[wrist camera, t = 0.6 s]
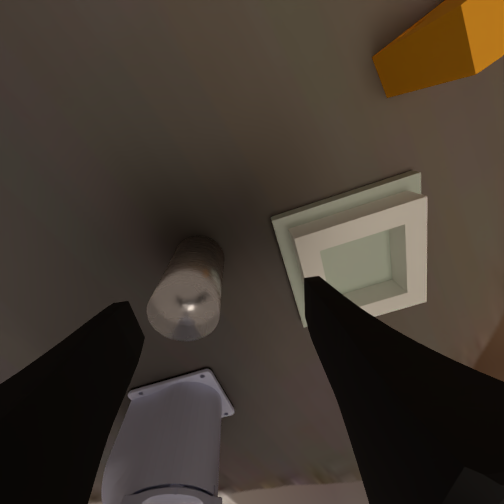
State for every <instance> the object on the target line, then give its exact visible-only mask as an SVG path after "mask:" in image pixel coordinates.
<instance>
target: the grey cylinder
mask: <svg viewBox="0 0 504 504" xmlns="http://www.w3.org/2000/svg"><path fill="white" fill-rule="evenodd" d="M223 269H224V253H223V250H222V249H221V247H220V246H219V244H218V243H216V242H215V241H214V240H212V239H210V238H208V237H204V236H192V237H189V238H187V239H185V240H183V241H182V242H181V243H180V244H179V246H178V247H177V249H176V251H175V253H174V255H173V257H172V259H171V260H170V262H169V264H168V266H167V268H166V270H165V272H164V274H163V276H162V277H161V279H160V281H159V283H158V285H157V287H156V289H155V291H154V293H153V295H152V296H151V298H150V300H149V302H148V305H147V317H148V320H149V322H150V324H151V325H152V327H153V328H154V329H155V330H156V331H157V332H159V333H160V334H162V335H163V336H165V337H167V338H170V339H173V340H178V341H193V340H198V339H201V338H203V337H205V336H207V335H208V334H210V333H211V332H212V331H213V330H214V329H215V327H216V326H217V324H218V322H219V317H220V305H221V293H222V281H223Z"/></svg>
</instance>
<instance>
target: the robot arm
mask: <svg viewBox="0 0 504 504" xmlns="http://www.w3.org/2000/svg"><path fill="white" fill-rule="evenodd" d="M304 302H305V319H306V322H307V326H308V329H309V333H310V336H311V339H312V342H313V344H314V346H315V349H316V351H317V354H318V356H319V358H320V361H321V363H322V365H323V368H324V370H325V373H326V375H327V377H328V380H329V382H330V384H331V387H332V389H333V391H334V394H335V397H336V399H337V402H338V404H339V407H340V410H341V413H342V416H343V420H344V423H345V426H346V429H347V432H348V435H349V438H350V441H351V445H352V448H353V451H354V454H355V457H356V461H357V464H358V467H359V470H360V474H361V477H362V480H363V484H364V487H365V490H366V494H367V497H368V501H369V504H504V382H503V381H500V380H498V379H495V378H493V377H491V376H488V375H486V374H484V373H481V372H479V371H477V370H474V369H472V368H470V367H468V366H465V365H463V364H461V363H459V362H456V361H454V360H452V359H450V358H448V357H446V356H444V355H442V354H440V353H438V352H436V351H434V350H432V349H430V348H428V347H426V346H424V345H422V344H420V343H418V342H416V341H414V340H412V339H411V338H409V337H407V336H405V335H403V334H402V333H400V332H398V331H396V330H395V329H393V328H391V327H389V326H388V325H386V324H384V323H383V322H381V321H380V320H378V319H377V318H375V317H374V316H372V315H371V314H369V313H368V312H366V311H365V310H363V309H362V308H360V307H359V306H357V305H356V304H355V303H353V302H352V301H351V300H349V299H348V298H346V297H345V296H344V295H343V294H341V293H340V292H339V291H337V290H336V289H335V288H334V287H332V286H331V285H330V284H329V283H327V282H326V281H325V280H324V279H322V278H321V277H320V276H314V277H307V278H304ZM144 339H145V337H144V335H143V332H142V330H141V328H140V326H139V323H138V321H137V319H136V317H135V315H134V312H133V310H132V308H131V306H130V304H129V301H126V302H118V303H113V304H111V305H110V306H108V307H107V308H105V309H104V310H103V311H101V312H100V313H98V314H97V315H96V316H94V317H93V318H92V319H90V320H89V321H88V322H86V323H85V324H84V325H83V326H81V327H80V328H79V329H77V330H76V331H75V332H73V333H72V334H71V335H69V336H68V337H67V338H65V339H64V340H63V341H61V342H60V343H59V344H57V345H56V346H55V347H53V348H52V349H50V350H49V351H48V352H46V353H45V354H44V355H42V356H41V357H39V358H38V359H37V360H35V361H34V362H32V363H31V364H30V365H28V366H27V367H25V368H24V369H22V370H21V371H20V372H18V373H17V374H15V375H14V376H12V377H11V378H9V379H8V380H6V381H4V382H3V383H1V384H0V504H88V501H89V498H90V494H91V491H92V487H93V484H94V481H95V477H96V474H97V470H98V467H99V464H100V460H101V457H102V454H103V451H104V448H105V445H106V442H107V438H108V435H109V433H110V430H111V427H112V425H113V422H114V420H115V417H116V415H117V412H118V410H119V408H120V405H121V403H122V400H123V398H124V396H125V393H126V391H127V388H128V386H129V384H130V381H131V379H132V376H133V374H134V371H135V369H136V366H137V364H138V361H139V358H140V354H141V351H142V347H143V343H144ZM128 397H129V398H130V400H131V402H130V405H129V407H128V410H127V412H126V415H125V417H124V420H123V423H122V425H121V428H120V430H119V433H118V435H117V438H116V440H115V443H114V445H113V448H112V450H111V453H110V455H109V458H108V460H107V463H106V466H105V470H104V475H103V480H102V503H103V504H222V497H218V478H219V457H220V436H221V418H222V417H226V416H230V415H233V414H234V408H233V406H232V404H231V403H230V401H229V399H228V398H227V396H226V394H225V393H224V391H223V389H222V388H221V386H220V384H219V382H218V381H217V379H216V377H215V376H214V374H213V372H212V371H211V370H210V369H204V370H200V371H197V372H193V373H190V374H186V375H183V376H179V377H176V378H172V379H169V380H165V381H162V382H158V383H155V384H151V385H148V386H144V387H141V388H137V389H134V390H131V391H129V393H128Z"/></svg>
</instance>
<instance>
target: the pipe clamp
mask: <svg viewBox="0 0 504 504" xmlns="http://www.w3.org/2000/svg"><path fill="white" fill-rule="evenodd" d="M503 55H504V0H445V1H443V2H442V3H441V4H439V5H438V6H437V7H436V8H434V9H433V10H432V11H430V12H429V13H428V14H427V15H425V16H424V17H423V18H422V19H420V20H419V21H418V22H416V23H415V24H414V25H413V26H411V27H410V28H409V29H407V30H406V31H405V32H404V33H402V34H401V35H400V36H398V37H397V38H396V39H395V40H393V41H392V42H391V43H390V44H388V45H387V46H386V47H384V48H383V49H382V50H381V51H379V52H378V53H377V54H375V55H374V56H373V57H372V59H373V62H374V64H375V67H376V70H377V72H378V75H379V78H380V80H381V83H382V86H383V88H384V91H385V94H386V96H387V98H389V97H393V96H396V95H400V94H404V93H408V92H412V91H415V90H419V89H423V88H427V87H430V86H434V85H438V84H442V83H446V82H449V81H453V80H457V79H461V78H464V77H468V76H472V75H476V74H477V73H479V72H480V71H482V70H483V69H484V68H486V67H487V66H489V65H490V64H492V63H493V62H494V61H496V60H497V59H499V58H500V57H502V56H503Z"/></svg>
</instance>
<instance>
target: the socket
mask: <svg viewBox="0 0 504 504" xmlns="http://www.w3.org/2000/svg"><path fill="white" fill-rule="evenodd" d="M270 218H271V222H272V225H273V228H274V232H275V235H276V238H277V242H278V245H279V248H280V252H281V255H282V258H283V262H284V265H285V268H286V272H287V275H288V278H289V282H290V285H291V288H292V292H293V295H294V298H295V302H296V305H297V308H298V312H299V315H300V318H301V321H302V324H303V327H307V322H306V319H305V302H304V278H307V277H314V276H320V277H321V278H322V279H324V280H325V281H326V282H327V283H329V284H330V285H331V286H332V287H334V288H335V289H336V290H337V291H339V292H340V293H341V294H343V295H344V296H345V297H346V298H348V299H349V300H351V301H352V302H353V303H355V304H356V305H357V306H359V307H360V308H362V309H363V310H365V311H366V312H368V313H369V314H371V315H372V316H374V317H375V316H379V315H382V314H385V313H389V312H392V311H396V310H399V309H403V308H406V307H410V306H413V305H417V304H420V303H424V302H427V196H425V195H421V172H417V171H412V170H411V171H408V172H405V173H402V174H399V175H396V176H393V177H390V178H387V179H384V180H381V181H378V182H375V183H372V184H369V185H366V186H363V187H360V188H357V189H354V190H351V191H348V192H345V193H342V194H339V195H336V196H333V197H330V198H327V199H323V200H320V201H317V202H314V203H311V204H308V205H305V206H302V207H299V208H296V209H293V210H290V211H287V212H284V213H281V214H278V215H275V216H272V217H270Z"/></svg>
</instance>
